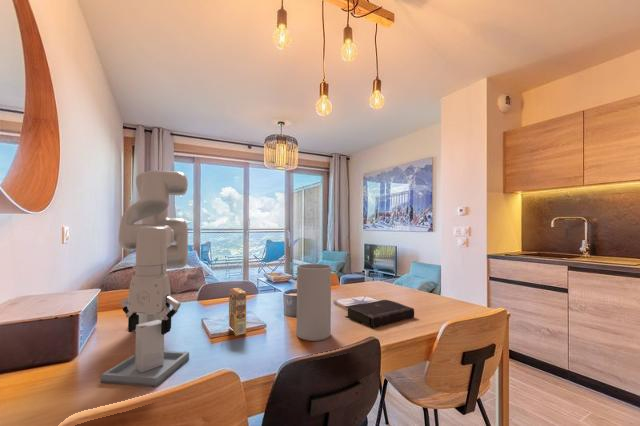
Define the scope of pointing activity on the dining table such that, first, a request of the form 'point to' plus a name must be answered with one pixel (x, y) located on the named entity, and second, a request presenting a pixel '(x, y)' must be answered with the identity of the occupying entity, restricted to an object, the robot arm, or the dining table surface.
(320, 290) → the cylinder vase
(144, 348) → the skincare box
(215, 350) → the dining table surface
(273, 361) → the dining table surface
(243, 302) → the candy box
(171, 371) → the tray
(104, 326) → the dining table surface
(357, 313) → the diary
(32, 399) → the dining table surface
